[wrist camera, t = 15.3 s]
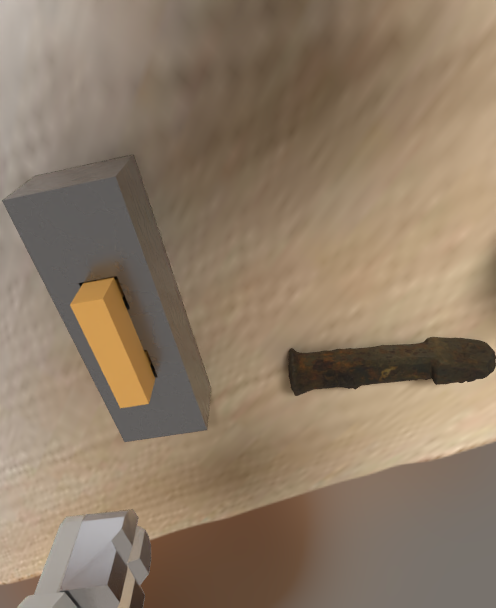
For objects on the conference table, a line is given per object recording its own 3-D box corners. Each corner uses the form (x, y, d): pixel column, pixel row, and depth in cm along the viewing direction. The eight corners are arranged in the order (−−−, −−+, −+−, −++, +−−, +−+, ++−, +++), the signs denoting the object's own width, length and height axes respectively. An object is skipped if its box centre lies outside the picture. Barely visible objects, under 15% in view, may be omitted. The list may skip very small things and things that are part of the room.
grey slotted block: (34, 176, 36) (2, 200, 31) (133, 154, 35) (115, 176, 30) (136, 400, 48) (124, 441, 43) (211, 388, 47) (207, 429, 42)
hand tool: (287, 374, 46) (291, 408, 43) (286, 342, 44) (290, 375, 40) (479, 362, 46) (500, 395, 42) (487, 329, 44) (510, 361, 40)
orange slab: (101, 253, 38) (70, 304, 32) (128, 248, 38) (102, 298, 31) (140, 347, 44) (120, 408, 37) (164, 343, 43) (148, 403, 37)
